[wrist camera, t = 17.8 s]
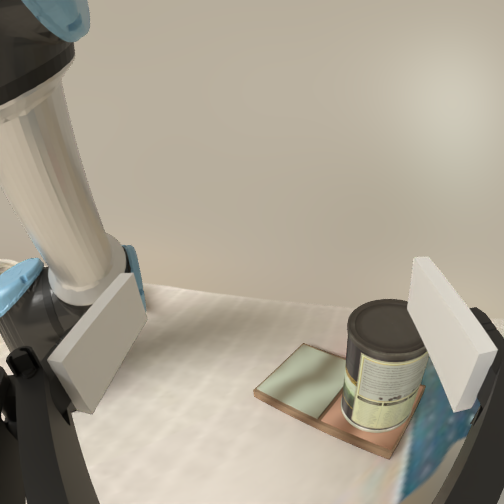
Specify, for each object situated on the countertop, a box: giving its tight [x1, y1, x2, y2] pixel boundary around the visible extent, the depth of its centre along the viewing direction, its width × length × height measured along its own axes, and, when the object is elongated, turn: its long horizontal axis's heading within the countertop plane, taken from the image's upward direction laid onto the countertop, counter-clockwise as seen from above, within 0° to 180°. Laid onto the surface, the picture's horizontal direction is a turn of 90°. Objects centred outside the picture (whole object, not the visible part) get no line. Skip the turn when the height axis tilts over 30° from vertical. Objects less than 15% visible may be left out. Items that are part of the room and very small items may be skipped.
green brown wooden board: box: [253, 343, 426, 459], centre depth 42 cm, size 22×13×2 cm, turn 49°
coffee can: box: [341, 299, 429, 433], centre depth 35 cm, size 10×10×14 cm
